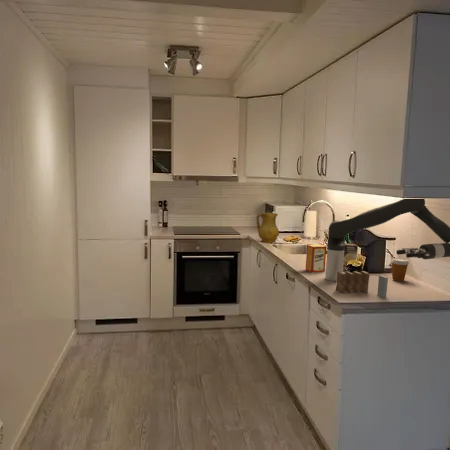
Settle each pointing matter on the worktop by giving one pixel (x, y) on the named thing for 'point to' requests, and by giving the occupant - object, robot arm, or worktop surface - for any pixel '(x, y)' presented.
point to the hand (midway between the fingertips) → (401, 253)
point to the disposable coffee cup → (399, 268)
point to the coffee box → (349, 253)
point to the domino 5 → (382, 286)
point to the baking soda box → (315, 258)
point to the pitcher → (267, 227)
